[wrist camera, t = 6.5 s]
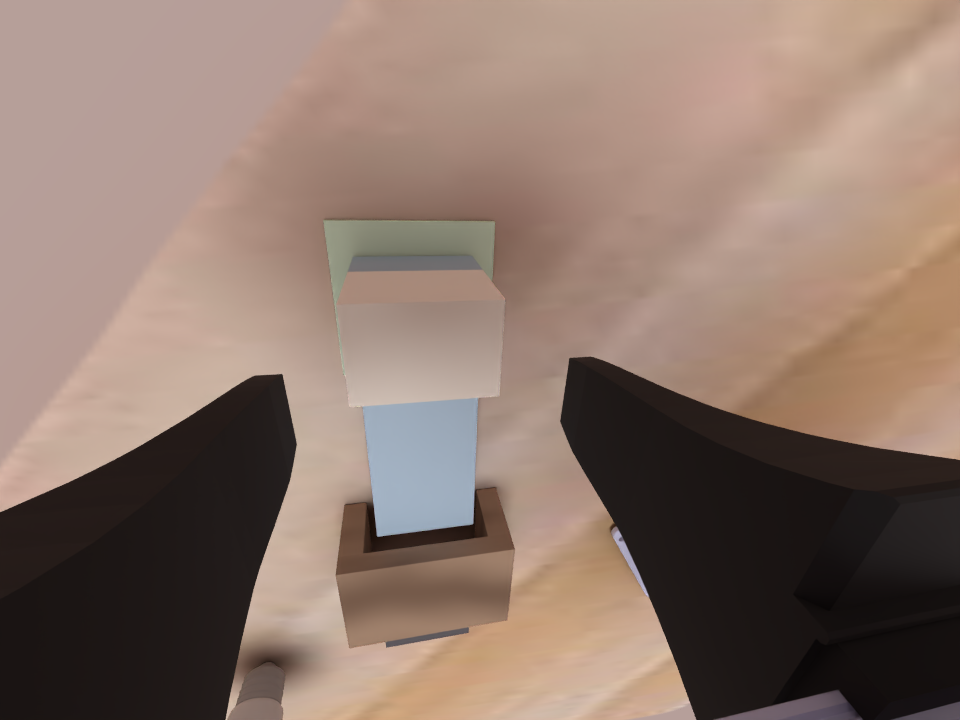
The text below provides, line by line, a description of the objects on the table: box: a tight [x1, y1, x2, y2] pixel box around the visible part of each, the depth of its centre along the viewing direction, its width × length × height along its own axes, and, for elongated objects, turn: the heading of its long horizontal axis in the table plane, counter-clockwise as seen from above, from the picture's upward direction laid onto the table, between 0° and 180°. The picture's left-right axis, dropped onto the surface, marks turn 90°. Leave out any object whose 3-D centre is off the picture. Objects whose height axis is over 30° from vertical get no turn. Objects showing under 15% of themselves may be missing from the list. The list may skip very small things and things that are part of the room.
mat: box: [323, 220, 495, 375], centre depth 19 cm, size 7×7×1 cm
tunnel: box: [336, 488, 515, 648], centre depth 24 cm, size 6×9×4 cm
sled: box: [336, 256, 506, 537], centre depth 18 cm, size 14×5×6 cm, turn 178°
